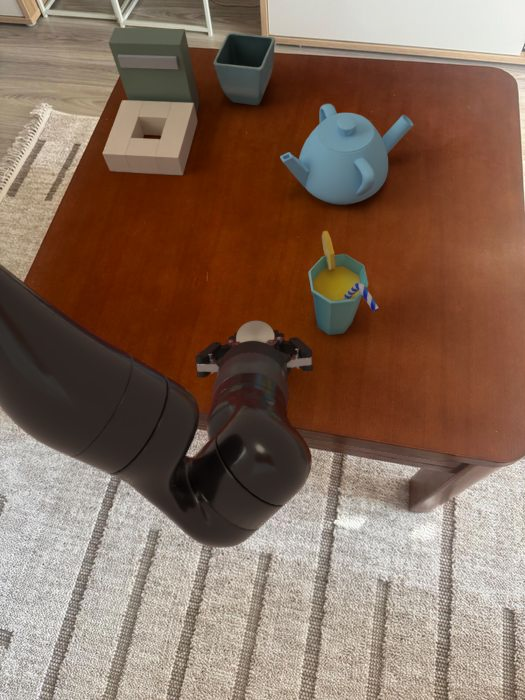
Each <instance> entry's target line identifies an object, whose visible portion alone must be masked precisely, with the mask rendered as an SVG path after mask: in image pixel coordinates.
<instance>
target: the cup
mask: <svg viewBox="0 0 525 700" xmlns="http://www.w3.org/2000/svg"><path fill="white" fill-rule="evenodd" d="M321 241H322V248H323V249H322V250H323V254H324V255H323V256H321V257H320V258H319V260H318V261H317V262H316V263H315V264H314V265H313V266H312V267H311V268H310V270H309V271H308V277H309V283H310V291H311V295H312V297H313V304H314V312H315V319H316V325H317V328H318V329H319V330H321V331H323V332H324V333H326V334H327V335H329V336H333V335H342V334H344V333H345V332H346V331H347V330H348V329H349V328H350V326H351V325H352V324H353V321H354V319H355V316H356V313H357V312H358V308H359V305H360V302H361V300H362V297H363V299H364V300H365V301H366V304H367V305H368V306H369V308H370V309H371V311H372V312H376V311H377V310H379V309H380V307H379V306H378V304H377V303H376V300H375V299H374V298H373V296H372V295H371V293H370V292H369V290H368V287H369V279H368V276H367V271H366V267H365V266H366V265H364V264H363V263H361V262H360V261H358V260H356V259H354V257H351V256H349V255H348V254H346V253H342V254H335V251H334V246H333V242H332V238H331V236H330V233H329V232H328V230H324V231H322V232H321Z"/></svg>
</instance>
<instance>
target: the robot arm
mask: <svg viewBox="0 0 525 700" xmlns="http://www.w3.org/2000/svg"><path fill="white" fill-rule="evenodd" d="M237 332H238V331H237ZM237 332H234V333H233V335H230V336H229V337H228V340H225V344H222V342H220V341H214V342H212V343H210V344H209V345H208V346H206V347H205V348H204V349H203V350H201V352H199V353H197V355H195V356H194V357H195V366H196V374H197V378H200V379H203V378H207V377H208V376H210V374H211V375H213V374H215V373H216V376H215V380H214V383H213V387H212V393H211V403H210V407H209V411H208V416H207V419H206V421H207V422H206V432H207V438H208V441H207V442H206V443H205V444H204V445H203V446H202V447H201V448H200V449H199V450H198V451H197V452H196V453H195V454H194V455H193V456H188V455H187V454H188V451H189V449H190V447H191V446H192V444H193V442H194V440H195V436H196V433H197V431H198V427H199V421H200V408H199V405H198V401H197V399H196V398H195V396H194V395H193V394H192V392H190V391H189V389H187V388H186V387H185V386H183V385H182V384H180V383H179V382H177V381H175V380H173V379H172V378H171V377H169V376H167V375H165V374H163V373H162V372H161V371H159V370H158V369H155V368H154V367H152V366H150V365H149V364H148V363H145V362H143V360H140V359H138V358H137V357H135V356H133V355H132V354H130V353H128V352H127V351H126V350H123V349H121V348H120V347H119V346H117V345H115V344H113V343H112V342H110V341H108V340H107V339H105V338H104V337H101V336H100V335H98V334H97V333H95V332H94V331H91V330H90V329H89V328H87V327H86V326H84V325H83V324H81V323H80V322H78V321H77V320H75V319H74V318H72V317H71V316H69V315H68V314H67V313H65V312H64V311H62V310H61V309H59V307H57V306H55V305H54V304H52V302H50V301H49V300H47V299H46V298H45V297H43V296H42V295H41V294H39V293H38V292H37V291H36V290H34V289H33V288H31V286H29V285H28V284H26V283H25V282H24V281H23V280H21V279H20V278H19V277H18V276H17V275H15V274H14V273H13V272H11V271H10V270H9V269H8V268H7V267H5V266H4V265H3V264H1V263H0V408H1V410H2V411H3V412H4V414H5V415H6V416H7V417H9V419H10V420H11V421H12V422H13V423H14V424H15V425H16V426H17V427H18V428H19V429H21V430H22V431H23V432H24V433H25V434H27V435H28V436H30V437H31V438H33V439H34V440H35V441H37V442H39V443H40V444H42V445H44V446H45V447H48V448H50V449H52V450H53V451H56V452H58V453H60V454H63V455H64V456H67V457H70V458H72V459H74V460H77V461H79V462H80V463H83V464H86V465H88V466H90V467H92V468H94V469H97V470H98V471H101V472H103V473H105V474H108V475H110V476H112V477H114V478H117V479H119V480H121V481H123V482H124V483H126V484H127V485H129V486H130V487H131V488H132V489H133V490H135V492H137V493H138V494H139V495H141V497H143V498H144V499H145V500H146V501H147V502H149V503H150V504H151V505H153V507H155V508H156V509H157V510H159V511H160V512H161V513H162V514H163V515H164V516H165V517H167V518H168V519H169V520H170V521H171V522H172V523H173V524H174V525H176V526H177V528H178V529H179V530H180V531H182V532H183V533H184V534H185V535H186V536H188V537H189V538H190V539H192V540H193V541H195V542H197V543H199V544H200V545H203V546H206V547H209V548H215V549H216V548H219V549H221V548H222V549H225V548H232V547H236V546H238V545H241V544H243V543H244V542H245V541H247V540H248V539H250V538H251V537H252V536H253V535H254V534H255V533H256V532H258V530H260V528H262V526H264V525H265V524H266V523H267V522H268V521H269V520H270V519H271V518H273V516H275V515H276V514H277V513H278V512H279V511H280V510H281V509H282V508H283V507H285V506H286V504H288V503H289V502H290V501H291V500H292V499H293V498H294V497H295V496H296V495H297V494H299V492H300V491H301V490H302V488H303V487H304V486H305V484H306V483H307V481H308V478H309V476H310V474H311V469H312V464H313V456H312V452H311V450H310V447H309V445H308V443H307V442H306V440H305V439H304V437H303V436H302V435H301V433H300V432H299V431H298V430H297V429H296V427H294V425H293V424H292V423H291V422H290V420H289V418H288V411H287V410H288V405H289V400H290V391H289V377H288V375H289V373H291V371H292V368H295V369H297V370H298V369H300V370H301V371H303V372H307V373H310V372H312V371H313V370H314V361H313V349H312V348H311V347H310V346H308V344H306V342H304V341H303V340H301V338H299V337H297V336H293V337H290V338H288V340H286V339H285V334H284V332H279V329H273V332H274V336H275V338H274V339H273V340H270V339H269V340H268V341H267V342H266V343H264V342H260V341H245V342H242V343H241V342H240V341H238V342H237V341H236V335H237Z"/></svg>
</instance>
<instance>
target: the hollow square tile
mask: <svg viewBox="0 0 525 700" xmlns="http://www.w3.org/2000/svg"><path fill="white" fill-rule="evenodd" d="M198 122H199V121H198V115H197V114H196V111H195V107H194V103H184V102H159V101H132V100H128V99H124V100H123V99H122V100H121V102H120V105H119V108H118V110H117V113H116V116H115V119H114V122H113V123H112V124H113V125H112V127H111V130H110V132H109V135H108V138H107V141H106V143H105V146H104V149H103V151H102V156H103V158H104V161H105V163H106V165H107V168H108V170H109V172H116V173H133V174H134V173H135V174H151V175H167V176H169V175H170V176H184V173H185V170H186V166H187V162H188V159H189V155H190V151H191V147H192V144H193V140H194V136H195V133H196V130H197V125H198ZM145 136H160V138H144V137H145Z"/></svg>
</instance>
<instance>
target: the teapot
mask: <svg viewBox="0 0 525 700" xmlns="http://www.w3.org/2000/svg"><path fill="white" fill-rule="evenodd" d="M318 117H319V124H318V125H316V127H315V128H314V129H313V130H312V131H311V133H310V134H309V136H308V137H307V138H306V139H305V141H304V144H303V146H302V148H301V150H300V154H299V158H297V157H296V156H295V155H293V154H292V153H291V152H290V151H289V152H286V153H284V154H282V155H280V156H279V158H280V160H281V161H282V163H283V164H284V166H286V168H287V169H288V170H289V172H291V174H292V175H293V176H294V178H295V179H296V180H297V181H298V182H299V183H300V184H301V185H302V187H303V188H305V190H306V191H307V192H308V193H309V194H311V195H312V196H313V197H315V198H317V199H318V200H321V201H322V202H325V203H327V204H331V205H338V206H339V205H340V206H343V205H345V206H346V205H352V204H357V203H360V202H362V201H364V200H367V199H368V198H370V197H372V196H373V195H375V194H376V193H378V191H379V190H380V189H381V188H382V187H383V185H384V183H386V179H387V177H388V173H389V157H388V154H389V153H390V152H391V151H392V149H393V148H394V147H395V146H396V145H397V144H398V143H399V142H400V141H401V140H402V138H403V137H404V136H405V135H407V133H408V132H409V131H410V130H411V129H412V128H413V127H414V122H413V121H412V120H411V119H410V118H409V117H408V116H407V115H405V114H402V115H401V116H400V117H399V118H398V119H397V120H396V121H395V123H394V124H393V125H392V126H391V127H390V128H389V129H388V130H387V131H386V133H384V135H380V133H379V131H378V130H377V128H376V127H375V125H373V123H372V122H371V121H370V120H369V119H368V118H366V117H364V116H363V115H361V114H358V113H354V112H338V113H337V110H336V108H335V106H334V105H333V104H332V103H324V104H322V105H321V106H320V108H319V115H318Z"/></svg>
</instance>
